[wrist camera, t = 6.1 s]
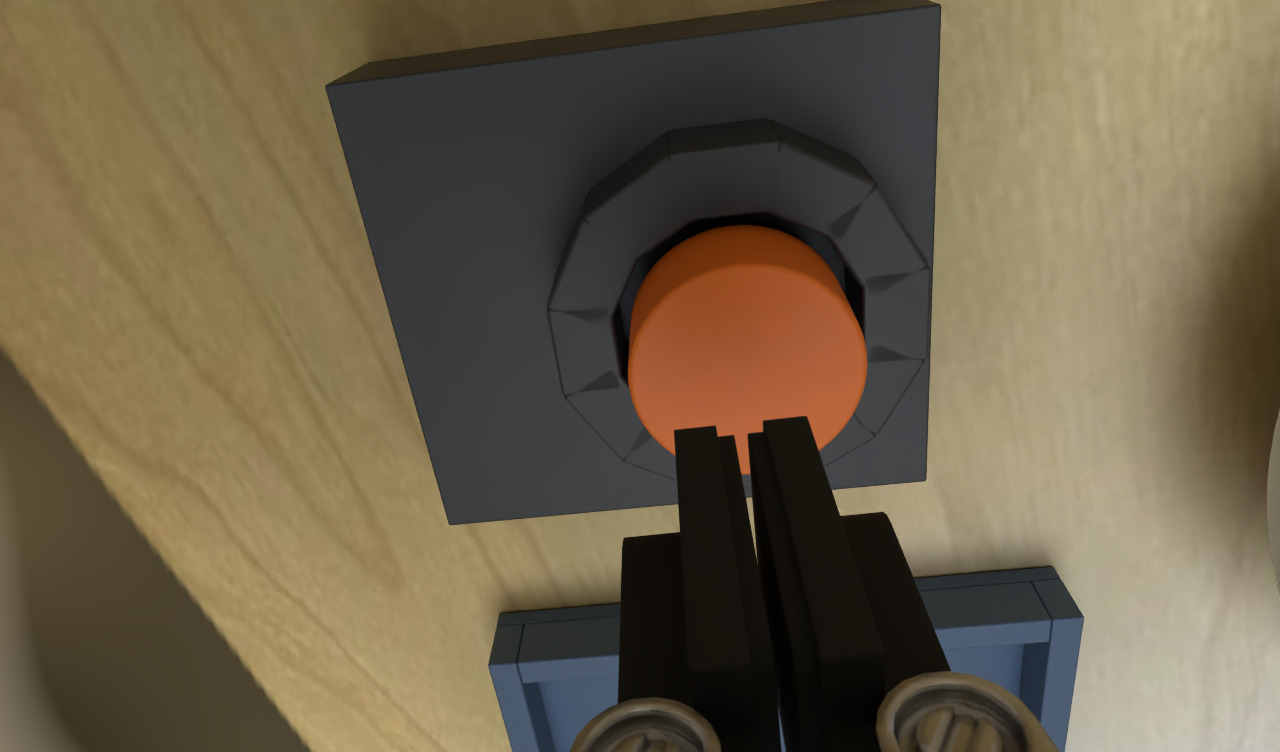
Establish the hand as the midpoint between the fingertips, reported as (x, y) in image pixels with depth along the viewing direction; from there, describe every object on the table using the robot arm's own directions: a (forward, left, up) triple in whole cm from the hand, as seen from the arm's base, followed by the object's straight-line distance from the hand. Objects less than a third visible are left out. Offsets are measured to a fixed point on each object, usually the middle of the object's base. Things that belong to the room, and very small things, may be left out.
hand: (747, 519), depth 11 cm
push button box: (-1, 0, -10) cm, 10 cm away
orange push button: (0, 0, -6) cm, 6 cm away
